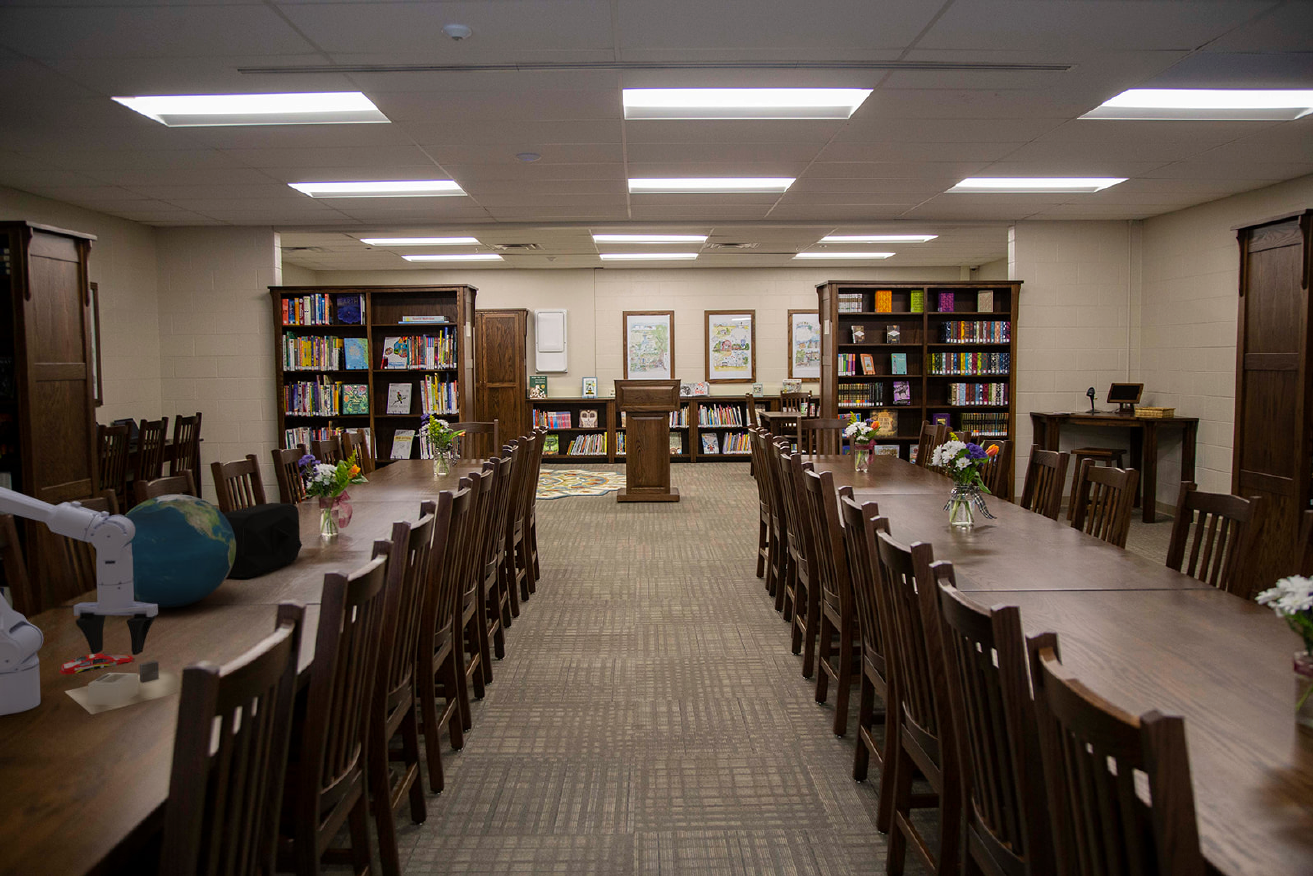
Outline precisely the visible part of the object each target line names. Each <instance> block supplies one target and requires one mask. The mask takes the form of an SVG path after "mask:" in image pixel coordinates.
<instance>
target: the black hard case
mask: <svg viewBox="0 0 1313 876" xmlns="http://www.w3.org/2000/svg"><path fill="white" fill-rule="evenodd" d="M222 514H223V515H224V516H225V517H226V518H227V520H228V521H229V523H230V525H231V527H232V529H233V532H234V535H235V540H236V554H235V559H234V563H233V566H232V569H231V570H230V572H229V574H228V576H227V577H226V578H241V579H242V578H243V579H250V578H252V577H255V576H258V575H263V574H266V573H268V572H272V571H275V570H277V569H280V568H282V566H283V567H285V566H287V565H289V564H292V562H293V563H294V561H296V559H297V558H298V556H299V553H300V550H301V549H302V546H303V544H302V541H301V537H300V536H301V535H300V533H301V532H300V513H299V508H298V507H297V506H296V505H295V504H294V503H284V502H269V503H262V504H257V505H253V506H248V507H247V506H246V507H244V508H243V507H242V508H239V509H235V510H231V511H227V512H225V513H222ZM284 565H285V566H284ZM276 568H277V569H276ZM274 569H275V570H274ZM271 570H272V571H271ZM265 572H266V573H265ZM262 573H263V574H262Z"/></svg>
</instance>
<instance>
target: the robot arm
mask: <svg viewBox="0 0 1313 876" xmlns="http://www.w3.org/2000/svg"><path fill="white" fill-rule="evenodd" d="M0 512H4V513H6V514H7V513H8V514H12V515H15V516H19V517H22V518H28V519H31V520H35V521H39V522H42V523H45V524H46V525H47V528H49V530H50V532H52V533H54V534H59V535H62V536H66V537H68V538H72V539H75V540H78V541H82V542H86V543H91V545H92V546H93V547H94V548H95V550H96V559H95V562H96V563H95V564H96V566H95V567H96V593H97V595H96V596H97V600H96V601H97V602H79V603H76V604H75V605H73V616H75V617H77V616H79V618H77V619H75V624H76V626H78V627H79V629H80V630H81V632H82V634H83V635H84V637H85V638H86V641H87V644H88V646H89V650H90V652H91V653H90V654H97V653H101V652H103V649H104V624H105V621H106V617H107V616H134V617H131V618H129V619H126V624H127V627H128V630H129V635H130V639H131V640H130V641H131V643H130V646H131V654H132V656H137V655H139V654H141V653H143V651H144V647H145V644H146V640H147V636H148V633H149V630H150V628H151V626H152V624H153V622H154V620H155V619H156V617H157V615H158V614H159V607H158V604H149V603H142V602H139V601H135V599H134V590H133V556H132V543H129V542H130V541H131V540H132V539H133V537H134V535H135V526H134V524H133V522H132V521H131V520H130V519H128V518H126V517H124V516H125V515H123V514H114V515H110V512H108V511H105V510H104V511H101V512H100V511H96V510H94V509H90V508H87V507H84V506H82V502H79V501H76V500H74V501H72V502H68V501H63V502H62V503H59V504H57V505H54V504H51V503H47V501H42V500H39V499H36V498H34V497H32V496H29V495H25V494H24V493H23V494H22V493H19V492H17V491H14V490H11V489H9V488H5V487H2V486H0ZM127 543H129V544H127ZM126 544H127V545H126ZM7 601H8V600H6V599H5V597H4V595H3V594H2V593H1V592H0V716H4V715H9V714H10V715H11V714H17V713H22V712H25V711H26V712H27V711H28V710H31V709H35V708H36V707H38V706H39V705H40V704H41V678H40V677H41V676H40V659H39V656H38V655H37V654H38V651H40V649H41V648H42V646H43V644H44V634H43V631H42V630H41V629H40V628H39V627H38V626H37V625H34V624H32V622H31V623H30V622H29V620H27V619H26V617H25V616H24V614H22V613H20V612H18V611H16V610H14V609H12V608H11V606H10V605H9V602H7Z"/></svg>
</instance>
